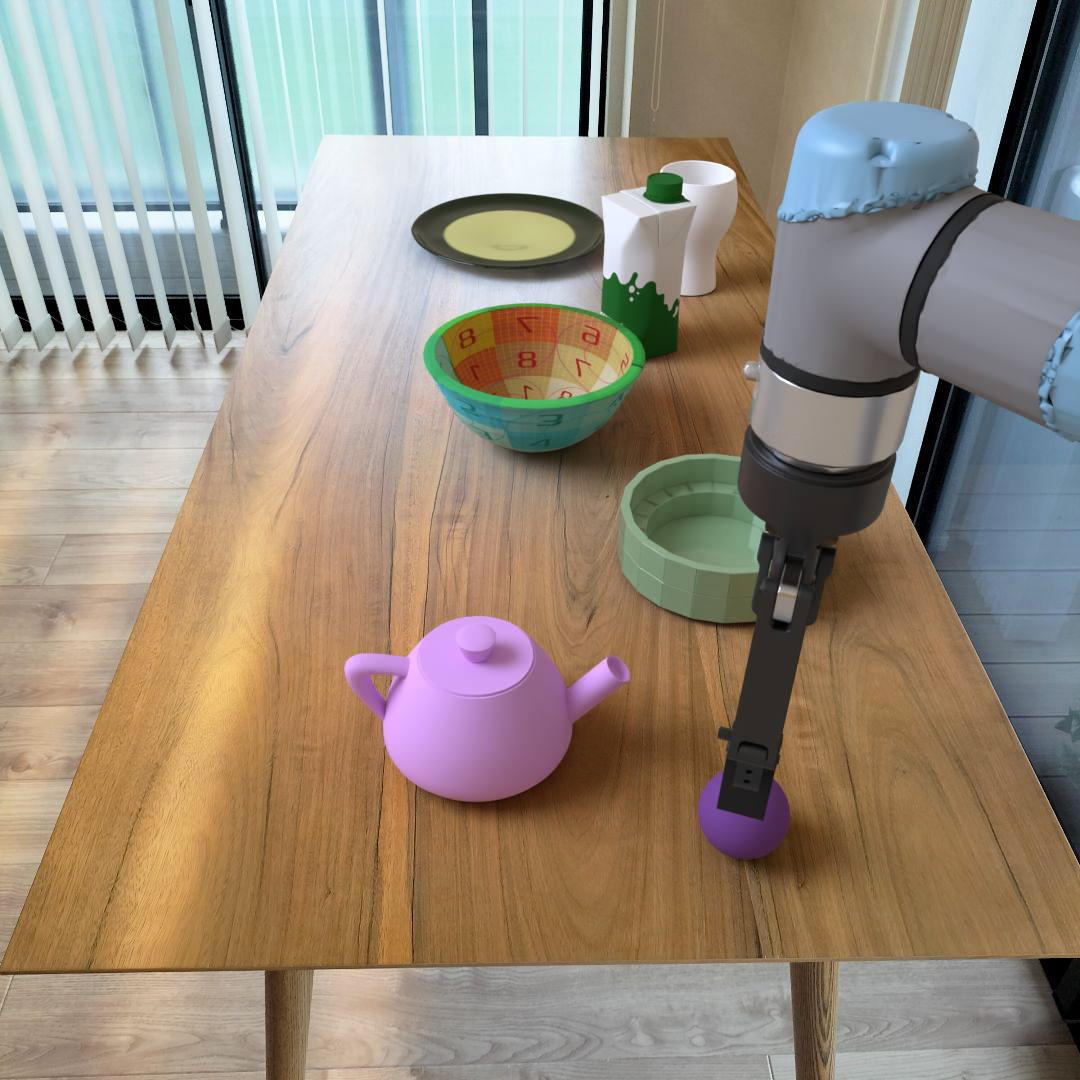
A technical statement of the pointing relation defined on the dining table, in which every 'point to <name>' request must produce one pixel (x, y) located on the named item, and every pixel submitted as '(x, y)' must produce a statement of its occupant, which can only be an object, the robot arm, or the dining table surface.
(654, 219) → the milk carton
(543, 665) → the teapot
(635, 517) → the green bowl
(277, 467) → the dining table surface
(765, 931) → the dining table surface
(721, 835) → the ball
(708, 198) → the cup
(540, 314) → the bowl
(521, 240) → the plate
